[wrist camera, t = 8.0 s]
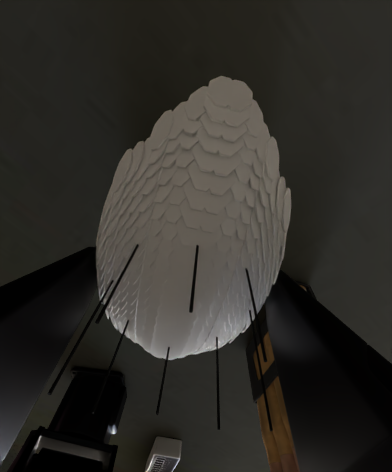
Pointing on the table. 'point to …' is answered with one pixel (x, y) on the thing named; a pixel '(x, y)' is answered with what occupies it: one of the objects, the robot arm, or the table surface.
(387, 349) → the table surface
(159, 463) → the multiport hub
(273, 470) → the ammunition clip
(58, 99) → the table surface
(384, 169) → the table surface
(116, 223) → the pincushion
